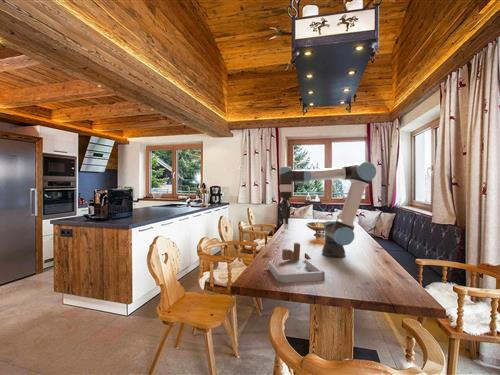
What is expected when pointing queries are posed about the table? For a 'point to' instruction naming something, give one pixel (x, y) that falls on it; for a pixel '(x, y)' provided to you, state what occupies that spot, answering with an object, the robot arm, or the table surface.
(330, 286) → the table surface
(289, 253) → the wooden block set
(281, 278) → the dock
